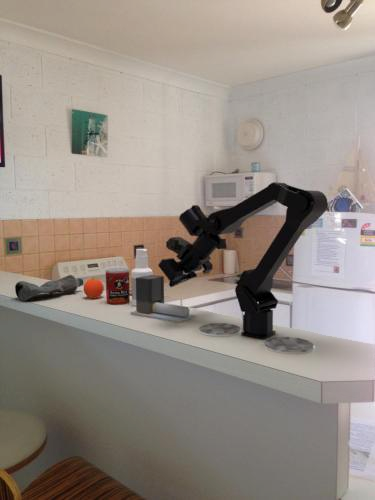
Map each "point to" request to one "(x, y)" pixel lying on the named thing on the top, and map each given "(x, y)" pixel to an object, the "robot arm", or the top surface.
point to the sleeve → (149, 292)
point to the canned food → (117, 286)
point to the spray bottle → (139, 270)
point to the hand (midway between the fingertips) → (170, 285)
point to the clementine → (93, 288)
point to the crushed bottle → (47, 287)
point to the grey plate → (167, 312)
